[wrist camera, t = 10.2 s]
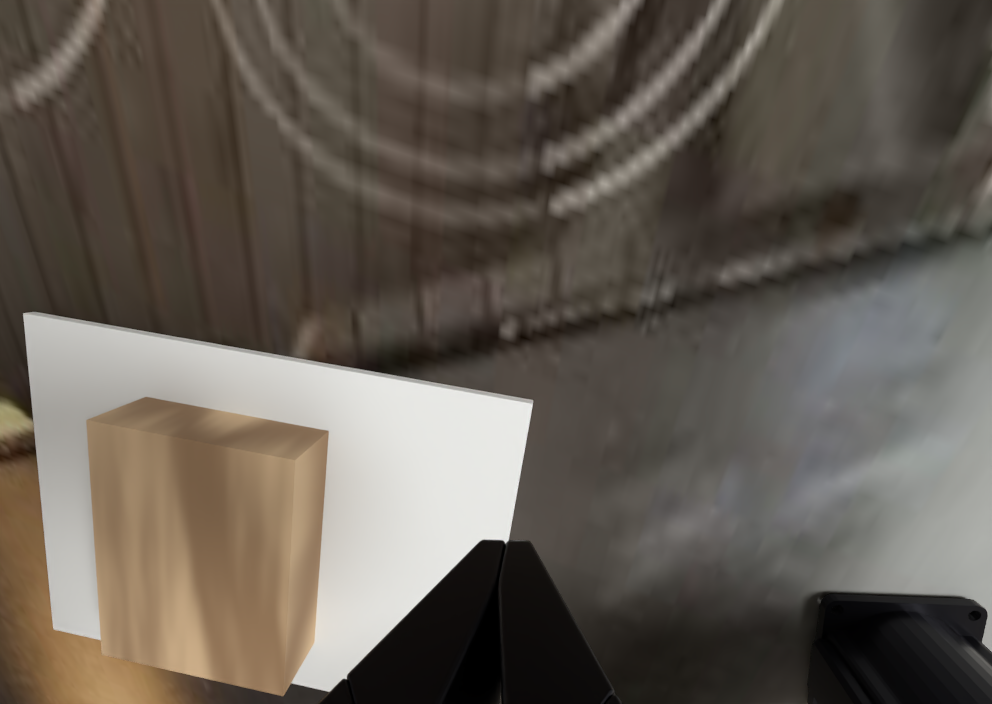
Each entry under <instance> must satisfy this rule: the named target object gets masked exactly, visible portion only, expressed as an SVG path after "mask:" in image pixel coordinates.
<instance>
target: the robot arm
mask: <svg viewBox="0 0 992 704" xmlns="http://www.w3.org/2000/svg"><path fill="white" fill-rule="evenodd" d="M836 605H838V606H837V607H835V608H832V607H834V606H836ZM986 621H987V611H986V610H985V608H983V607H982V606H981V605H980V604H979V603H977V602H976V601H974V600H971V599H955V598H928V597H901V596H874V595H847V594H830V595H827V596H825V597H824V598H823V599H822V600H821V603H820V610H819V618H818V625H817V633H816V639H815V640H814V642H813V644H812V652H811V660H810V668H809V675H808V683H807V685H808V688H809V695H808V704H992V652H991V651H990V650H989V649H988V648H987V647H986V646H985V645H983V644H982V638H983V634H984V629H985V625H986ZM500 695H501V698H502V704H622V702H621V701H620V699H619V697H618V696H617V695H615V691H614V689H613V687H612V685H611V683H610V682H609V680H608V678H607V676H606V675H605V673H604V671H603V669H602V667H601V666H600V664H599V662H598V660H597V659H596V657H595V655H594V653H593V651H592V650H591V648H590V646H589V644H588V643H587V641H586V639H585V637H584V635H583V634H582V632H581V630H580V628H579V627H578V625H577V623H576V621H575V619H574V618H573V616H572V614H571V612H570V610H569V609H568V607H567V605H566V603H565V602H564V600H563V598H562V596H561V594H560V593H559V591H558V589H557V587H556V586H555V584H554V582H553V580H552V578H551V577H550V575H549V573H548V571H547V570H546V568H545V566H544V564H543V562H542V561H541V559H540V557H539V555H538V554H537V552H536V550H535V548H534V546H533V545H532V543H531V542H530V541H527V540H509V541H507V542H506V544H505V542H504V541H503V540H485V539H484V540H481V541H479V542H478V543H477V544H476V545H475V546H474V547H473V548H472V549H471V550H470V551H469V552H468V553H467V554H466V555H465V556H464V557H463V558H462V559H461V560H460V561H459V562H458V563H457V564H456V565H455V566H454V567H453V568H452V569H451V570H450V571H449V573H448V574H447V575H446V576H445V577H444V578H443V579H442V580H441V581H440V582H439V583H438V584H437V585H436V586H435V587H434V588H433V589H432V590H431V591H430V592H429V593H428V594H427V595H426V596H425V597H424V598H423V599H422V600H421V601H420V602H419V603H418V604H417V605H416V606H415V607H414V608H413V609H412V610H411V611H410V612H409V613H408V614H407V615H406V616H405V617H404V618H403V619H402V620H401V621H400V622H399V623H398V624H397V625H396V626H395V627H394V628H393V629H392V630H391V631H390V632H389V633H388V634H387V635H386V636H385V637H384V638H383V639H382V640H381V641H380V642H379V643H378V644H377V645H376V646H375V647H374V648H373V649H372V650H371V651H370V652H369V653H368V654H367V655H366V656H365V657H364V658H363V659H362V660H361V661H360V662H359V663H358V664H357V665H356V666H355V667H354V668H353V669H352V670H351V671H350V672H349V673H348V674H347V679H345V678H344V679H342V680H341V681H340V682H339V683H338V684H337V685H336V686H335V687H334V688H333V689H332V690H331V691H330V692H329V693H328V694H327V695H326V696H325V697H324V698H323V699H322V700H321V701H320V702H319V703H318V704H499V702H500Z"/></svg>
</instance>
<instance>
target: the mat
mask: <svg viewBox="0 0 992 704" xmlns="http://www.w3.org/2000/svg"><path fill="white" fill-rule="evenodd" d="M23 317H24V328H25V338H26V349H27V359H28V370H29V380H30V391H31V401H32V412H33V422H34V433H35V443H36V453H37V464H38V474H39V485H40V495H41V506H42V516H43V527H44V537H45V548H46V558H47V569H48V579H49V590H50V600H51V610H52V621H53V629H54V630H58V631H63V632H67V633H71V634H76V635H80V636H85V637H89V638H94V639H98V640H101V636H100V621H99V606H98V591H97V576H96V561H95V546H94V531H93V515H92V500H91V485H90V470H89V455H88V440H87V425H86V420H87V419H90V418H93V417H95V416H98V415H100V414H103V413H105V412H108V411H111V410H113V409H116V408H118V407H121V406H123V405H126V404H129V403H131V402H134V401H136V400H139V399H141V398H144V397H150V398H156V399H161V400H166V401H172V402H177V403H182V404H188V405H193V406H198V407H204V408H209V409H214V410H220V411H225V412H230V413H236V414H241V415H246V416H252V417H257V418H262V419H268V420H273V421H278V422H284V423H289V424H295V425H300V426H305V427H311V428H316V429H321V430H327V431H329V436H328V451H327V465H326V480H325V495H324V509H323V524H322V539H321V554H320V568H319V583H318V598H317V613H316V627H315V642H314V644H313V646H312V648H311V649H310V651H309V653H308V655H307V656H306V658H305V660H304V662H303V663H302V665H301V667H300V668H299V670H298V672H297V674H296V675H295V677H294V679H293V681H292V682H291V683H293V684H298V685H302V686H306V687H311V688H315V689H320V690H324V691H329V692H330V691H331V690H332V689H333V688H334V687H335V686H336V685H337V684H338V683H339V682H340V681H341V680H342V679H344V678H345V679H347V674H348V673H349V672H350V671H351V670H352V669H353V668H354V667H355V666H356V665H357V664H358V663H359V662H360V661H361V660H362V659H363V658H364V657H365V656H366V655H367V654H368V653H369V652H370V651H371V650H372V649H373V648H374V647H375V646H376V645H377V644H378V643H379V642H380V641H381V640H382V639H383V638H384V637H385V636H386V635H387V634H388V633H389V632H390V631H391V630H392V629H393V628H394V627H395V626H396V625H397V624H398V623H399V622H400V621H401V620H402V619H403V618H404V617H405V616H406V615H407V614H408V613H409V612H410V611H411V610H412V609H413V608H414V607H415V606H416V605H417V604H418V603H419V602H420V601H421V600H422V599H423V598H424V597H425V596H426V595H427V594H428V593H429V592H430V591H431V590H432V589H433V588H434V587H435V586H436V585H437V584H438V583H439V582H440V581H441V580H442V579H443V578H444V577H445V576H446V575H447V574H448V573H449V571H450V570H451V569H452V568H453V567H454V566H455V565H456V564H457V563H458V562H459V561H460V560H461V559H462V558H463V557H464V556H465V555H466V554H467V553H468V552H469V551H470V550H471V549H472V548H473V547H474V546H475V545H476V544H477V543H478V542H479V541H481V540H484V539H485V540H503V541H504V542H505V544H506V542H507V541H508V540H509V535H510V529H511V523H512V518H513V512H514V507H515V501H516V495H517V490H518V484H519V479H520V473H521V467H522V462H523V456H524V451H525V445H526V439H527V434H528V428H529V423H530V417H531V411H532V406H533V400H530V399H524V398H519V397H513V396H507V395H502V394H496V393H490V392H485V391H479V390H474V389H468V388H462V387H457V386H451V385H445V384H440V383H434V382H428V381H423V380H417V379H411V378H406V377H400V376H394V375H389V374H383V373H378V372H372V371H366V370H361V369H355V368H349V367H344V366H338V365H332V364H327V363H321V362H315V361H310V360H304V359H299V358H293V357H287V356H282V355H276V354H270V353H265V352H259V351H253V350H248V349H242V348H236V347H231V346H225V345H220V344H214V343H208V342H203V341H197V340H191V339H186V338H180V337H174V336H169V335H163V334H157V333H152V332H146V331H140V330H135V329H129V328H124V327H118V326H112V325H107V324H101V323H95V322H90V321H84V320H78V319H73V318H67V317H61V316H56V315H50V314H45V313H39V312H29V313H23Z"/></svg>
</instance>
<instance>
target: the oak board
mask: <svg viewBox="0 0 992 704" xmlns="http://www.w3.org/2000/svg"><path fill="white" fill-rule="evenodd" d="M86 425H87V440H88V455H89V470H90V485H91V500H92V515H93V531H94V546H95V561H96V576H97V591H98V606H99V621H100V636H101V651H102V655H105V656H109V657H113V658H118V659H122V660H127V661H131V662H135V663H140V664H144V665H149V666H153V667H157V668H162V669H166V670H171V671H175V672H179V673H184V674H188V675H192V676H197V677H201V678H206V679H210V680H214V681H219V682H223V683H228V684H232V685H236V686H241V687H245V688H250V689H254V690H258V691H263V692H267V693H271V694H276V695H280V696H284V694H285V693H286V691H287V689H288V687H289V686H290V684H291V682H292V681H293V679H294V677H295V675H296V674H297V672H298V670H299V668H300V667H301V665H302V663H303V662H304V660H305V658H306V656H307V655H308V653H309V651H310V649H311V648H312V646H313V644H314V642H315V627H316V613H317V598H318V583H319V568H320V554H321V539H322V524H323V509H324V495H325V480H326V465H327V451H328V436H329V431H327V430H321V429H316V428H311V427H305V426H300V425H295V424H289V423H284V422H278V421H273V420H268V419H262V418H257V417H252V416H246V415H241V414H236V413H230V412H225V411H220V410H214V409H209V408H204V407H198V406H193V405H188V404H182V403H177V402H172V401H166V400H161V399H156V398H150V397H144V398H141V399H139V400H136V401H134V402H131V403H129V404H126V405H123V406H121V407H118V408H116V409H113V410H111V411H108V412H105V413H103V414H100V415H98V416H95V417H93V418H90V419H87V420H86Z"/></svg>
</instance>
